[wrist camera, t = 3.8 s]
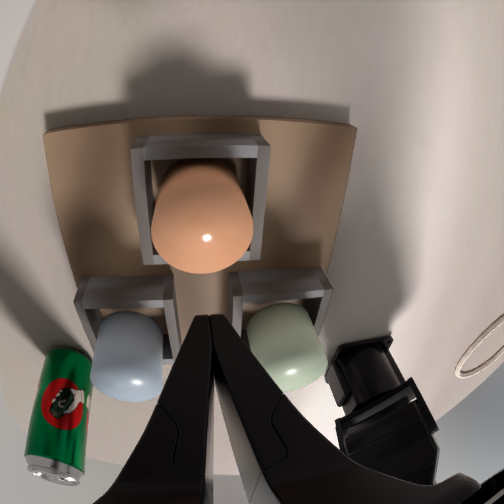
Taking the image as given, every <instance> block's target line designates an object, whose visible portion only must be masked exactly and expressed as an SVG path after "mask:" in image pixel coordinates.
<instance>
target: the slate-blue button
mask: <svg viewBox="0 0 504 504" xmlns="http://www.w3.org/2000/svg"><path fill="white" fill-rule="evenodd" d="M162 373H163V332H162V330H161V328H160V326H159V325H158V324H157V323H156V322H155V321H154V320H153V319H151V318H150V317H148V316H146V315H144V314H141V313H138V312H133V311H118V312H114V313H111V314H109V315H107V316H106V317H105V318H104V319H103V320H102V322H101V324H100V327H99V332H98V337H97V342H96V346H95V352H94V357H93V362H92V368H91V374H90V379H91V382H92V384H93V385H94V386H95V388H96V389H98V390H99V391H100V392H102V393H103V394H105V395H107V396H109V397H112V398H114V399H118V400H122V401H129V402H140V401H147V400H150V399H153V398H155V397H156V396H158V395H159V394H160V393H161V391H162Z"/></svg>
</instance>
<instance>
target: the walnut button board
mask: <svg viewBox="0 0 504 504" xmlns="http://www.w3.org/2000/svg"><path fill="white" fill-rule="evenodd" d="M356 131H357V128H356V127H354V126H352V125H350V124H344V123H335V122H326V121H317V120H306V119H293V118H278V117H258V116H175V117H155V118H140V119H128V120H117V121H108V122H99V123H91V124H83V125H76V126H70V127H63V128H57V129H51V130H49V131H47V132H45V133H44V134H43V139H44V146H45V154H46V160H47V167H48V173H49V178H50V184H51V189H52V194H53V199H54V204H55V208H56V213H57V217H58V221H59V225H60V229H61V233H62V237H63V241H64V245H65V248H66V252H67V255H68V259H69V262H70V266H71V269H72V272H73V275H74V279H75V282H76V285H77V288H78V290H77V293H76V296H75V299H74V301H73V302H74V305H75V308H76V310H77V313H78V315H79V318H80V320H81V323H82V325H83V328H84V330H85V333H86V335H87V337H88V340H89V342H90V344H91V347H92V349H93V351H94V352H95V346H96V342H97V337H98V332H99V327H100V324H101V322H102V320H103V319H104V318H105V317H106V316H107V315H109V314H111V313H114V312H118V311H133V312H138V313H141V314H144V315H146V316H148V317H150V318H151V319H153V320H154V321H155V322H156V323H157V324H158V325H159V326H160V328H161V330H162V332H163V364H174V362H175V359H176V357H177V355H178V352H179V350H180V348H181V346H182V341H184V339H185V336H186V334H187V332H188V330H189V327H190V325H191V323H192V320H193V318H194V316H195V315H201V314H208V315H209V316H210V314H219V313H222V314H224V315H225V317H226V318H227V319H228V321H229V322H230V323H231V325H232V326H233V327H234V329H235V330H236V332H237V333H238V334H239V336H240V337H241V338H242V340H243V341H244V342H245V344H246V345H247V346H248V348H249V349H250V345H249V340H248V336H247V325H248V322H249V321H250V319H251V318H252V317H253V316H254V315H255V314H256V313H257V312H258V311H260V310H261V309H263V308H265V307H267V306H270V305H273V304H277V303H295V304H298V305H300V306H302V307H303V308H305V309H306V311H307V312H308V314H309V317H310V319H311V321H312V324H313V326H314V329H315V331H316V333H317V336H318V337H319V333H320V330H321V327H322V324H323V321H324V317H325V314H326V311H327V308H328V304H329V301H330V297H331V294H332V291H333V288H332V286H331V285H330V283H329V281H328V279H327V277H326V274H327V270H328V266H329V262H330V258H331V254H332V250H333V246H334V242H335V237H336V233H337V229H338V224H339V220H340V215H341V210H342V206H343V201H344V196H345V191H346V186H347V181H348V176H349V171H350V166H351V160H352V155H353V149H354V143H355V137H356ZM188 158H217V159H219V160H221V161H223V162H224V163H226V164H227V165H228V166H229V167H230V168H231V169H232V170H233V171H234V173H235V174H236V176H237V178H238V180H239V183H240V186H241V189H242V191H243V194H244V197H245V200H246V202H247V205H248V208H249V211H250V213H251V216H252V220H253V236H252V240H251V243H250V245H249V247H248V249H247V250H246V252H245V253H244V254H243V256H242V257H241V258H240V259H239V260H238V261H236V262H235V263H234V264H232V265H230V266H229V267H227V268H225V269H222V270H220V271H217V272H212V273H205V274H196V273H189V272H185V271H182V270H179V269H177V268H175V267H173V266H171V265H170V264H168V263H167V262H166V261H165V260H164V259H163V258H162V257H161V256H160V255H159V253H158V252H157V250H156V248H155V246H154V244H153V241H152V236H151V225H152V220H153V215H154V210H155V205H156V201H157V196H158V192H159V187H160V184H161V181H162V179H163V176H164V175H165V173H166V172H167V171H168V170H169V168H170V167H172V166H173V165H174V164H175V163H177V162H178V161H180V160H182V159H188ZM250 350H251V349H250Z"/></svg>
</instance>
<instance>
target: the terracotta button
mask: <svg viewBox="0 0 504 504" xmlns="http://www.w3.org/2000/svg"><path fill="white" fill-rule="evenodd" d="M151 236H152V241H153V244H154V246H155V248H156V250H157V252H158V253H159V255H160V256H161V257H162V258H163V259H164V260H165V261H166V262H167V263H168V264H170V265H171V266H173V267H175V268H177V269H179V270H182V271H185V272H189V273H196V274H205V273H212V272H217V271H220V270H222V269H225V268H227V267H229V266H230V265H232V264H234V263H235V262H236V261H238V260H239V259H240V258H241V257H242V256H243V254H244V253H245V252H246V250H247V249H248V247H249V245H250V243H251V240H252V236H253V220H252V216H251V213H250V211H249V208H248V205H247V202H246V200H245V197H244V194H243V191H242V189H241V186H240V183H239V180H238V178H237V176H236V174H235V173H234V171H233V170H232V169H231V168H230V167H229V166H228V165H227V164H226V163H224V162H223V161H221V160H219V159H217V158H188V159H182V160H180V161H178V162H177V163H175V164H174V165H173V166H172V167H170V168H169V170H168V171H167V172H166V173H165V175H164V176H163V179H162V181H161V184H160V187H159V192H158V196H157V201H156V205H155V210H154V215H153V220H152V225H151Z"/></svg>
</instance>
